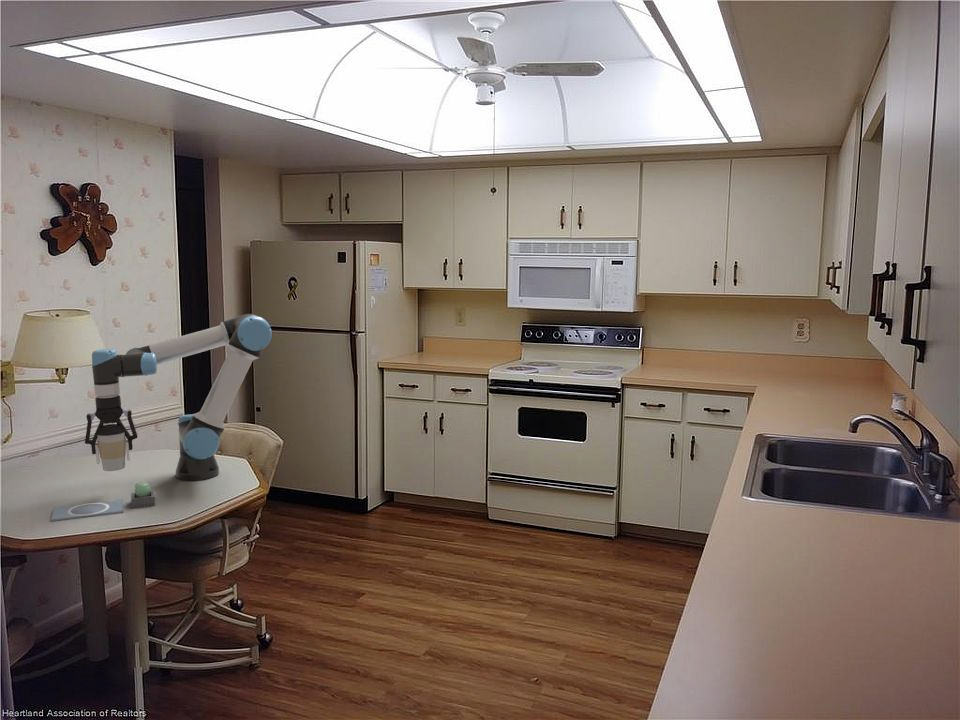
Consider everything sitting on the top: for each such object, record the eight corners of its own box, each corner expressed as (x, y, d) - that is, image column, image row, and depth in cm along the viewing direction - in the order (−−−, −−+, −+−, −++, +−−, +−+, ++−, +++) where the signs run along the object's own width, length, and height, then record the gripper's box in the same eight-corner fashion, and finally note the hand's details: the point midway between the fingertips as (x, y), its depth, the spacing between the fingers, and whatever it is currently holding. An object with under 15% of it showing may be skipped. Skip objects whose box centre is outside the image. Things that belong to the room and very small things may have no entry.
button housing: (154, 499, 252) (154, 490, 252) (155, 505, 246) (154, 496, 246) (131, 501, 249) (131, 493, 249) (131, 508, 243) (131, 499, 243)
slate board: (123, 501, 250) (123, 499, 250) (123, 512, 239) (122, 510, 239) (54, 509, 241) (54, 507, 241) (51, 521, 230) (50, 519, 230)
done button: (149, 493, 250) (149, 481, 250) (150, 497, 246) (149, 485, 246) (135, 494, 248) (134, 483, 248) (135, 498, 244) (134, 486, 244)
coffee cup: (96, 473, 249) (92, 429, 247) (102, 465, 258) (98, 423, 255) (126, 470, 251) (122, 427, 249) (131, 463, 260) (127, 421, 258)
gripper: (142, 390, 258) (147, 454, 262) (72, 396, 250) (78, 462, 253) (142, 394, 252) (148, 459, 255) (70, 400, 243) (77, 468, 246)
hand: (113, 461), depth 254 cm, fingers closed on coffee cup, 8 cm apart
